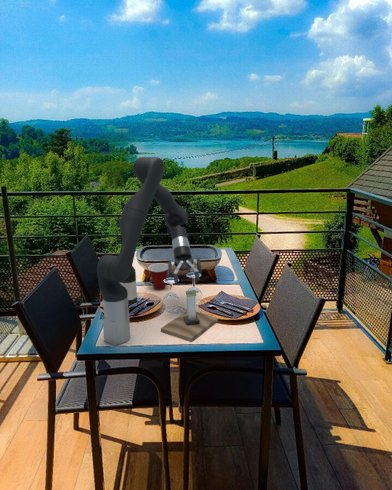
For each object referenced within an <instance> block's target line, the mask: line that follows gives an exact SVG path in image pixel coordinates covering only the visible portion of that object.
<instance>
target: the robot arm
mask: <svg viewBox="0 0 392 490" xmlns="http://www.w3.org/2000/svg"><path fill="white" fill-rule="evenodd" d="M132 168H133V170H132V171H133V173H134V176H135V177H136V178H137V179H138V181H139V182H140V183H141V184H142V186H141V187H140V188H139V189H138V191H137V192H136V193H135V194H134V195H133V196H131V197H130V198H129V199H128V201H127V202H126V203H125V205H124V206H123V209H122V212H121V215H120V217H119V218H120V219H119V231H120V235H121V247H120V251H119V254H118V255H111V254H106V255H103V256H102V257H100V258H99V260H98V263H97V266H96V267H97V268H96V273H97V279H98V287H99V292H100V294H101V297H102V306H103V316H104V317H103V318H102V319H101V320H102V330H103V331H102V332H103V341H104V342H105V343H107V344H110V345H112V346H117V345H121V344H122V345H123V344H125V343H127V342H128V341H130V339H131V323H130V311H129V310H130V308H128V292H127V289H126V288H125V287H124V286H123V285H121V284H120V283H121V282H124V281H125V280H126V279H127V278H128V276H129V274H130V271H131V268H132V266H133V264H134V258H135V254H136V250H137V247H138V243H139V240H140V237H141V234H142V231H143V229H144V226H145V224H146V223H145V222H146V220H147V217H148V214H149V211H150V208H151V204H152V202H153V199H155V201H156V202H157V204H158V205H159V207H160V209H161V210H162V212H163V213H164V214H165V215H164V222H165V225H166V226H167V229H168V230H169V233H170V236H171V241H172V242H171V243H172V244H171V245H172V251H173V252H172V253H173V257H174V261H172V260H168V263H167V265H168V276H170V277H171V276H172V277H173V280H174V281H173V282H174V283H175V284H176V285H179V278H178V273H179V272H180V271H181V272H184V271H190V272H192V273H193V274H194V277H195V278H194V279H195V282H196V283H198V282H199V281H200V275H199V274H201V273H202V272H203V267H202V264H201V259H200V258H196V259H193V258H192V257H193V256H192V252H191V247H190V241H189V238H188V235H187V230H186V228H185V227H183V226H182V225H185V224H186V223H187V222H188V219H189V218H188V213H187V212H186V210H184V208H182V207H181V206H180V205H179V204H178V203H177V202H176V200H175V198H174V196H173V194H172V193H171V191H169V190H168V189H167V188H166V187H165V186H163V185H162V184H161V181H162V178H163V176H164V173H165V162H164V160H163V159H162V158H161V157H158V156H157V157H156V156H141V157H137V158H136V159H135V160H134V162H133V167H132ZM195 265H196V266H195ZM174 266H175V267H176V268H175V269H174V271H173V267H174Z"/></svg>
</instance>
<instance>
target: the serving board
mask: <svg viewBox="0 0 392 490" xmlns="http://www.w3.org/2000/svg"><path fill="white" fill-rule="evenodd" d="M196 315H197V317H198V318H199V320H200V324H195V325H187V326H186V324H185V322H184V319H183V316H187V310H186V311H185V312H183V313H181V314H180V315H179V316H177V317H175V318H174V319H171V321H169V322H168V323H166V324H165V325H163V326H162V327H160V332H161V333H165V334H166V335H170V336H174V337H176V338H179V339H182V340H185V341H189V342H191V343H192V342H193V341H195V340H197V338H198V337H200V336H201V335H202V334H204V333H205V332H206V331H208V330H209V329H210V328H211V327H212V326H214V325H216V324H217V323H218V322H219V317H217V316H214V317H213V315H209V314H205V313H202V312H199V311H196ZM216 317H217V318H216Z"/></svg>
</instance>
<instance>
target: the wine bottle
mask: <svg viewBox="0 0 392 490" xmlns="http://www.w3.org/2000/svg"><path fill="white" fill-rule="evenodd" d="M136 274H137V273H136V268H135V267H134V266H133V265H132V268H131V271H130V274H129V276H128V278H127V279H126V280H125V281H124V282H121V283H120V284H121V285H123V286H124V287H125V288H126V289H127V292H128V305H129V304H130V305H131V304H134V303H136V302H137V303H138V292H137V275H136Z"/></svg>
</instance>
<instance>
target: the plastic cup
mask: <svg viewBox="0 0 392 490" xmlns="http://www.w3.org/2000/svg"><path fill="white" fill-rule="evenodd" d="M147 269H148V270H149V273H150V276H151V277H150V278H151V281H152V285H153V289H154V290H157V291H162V290H165V289H166V285H167V282H166V283H164V281H163V280H164V279H166V278H167V277H168V273H169V271H168V263H163V262H160V263H159V262H157V263H153V264H150V265H149V266H148V268H147ZM167 279H168V278H167ZM167 279H166V280H167Z"/></svg>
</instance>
